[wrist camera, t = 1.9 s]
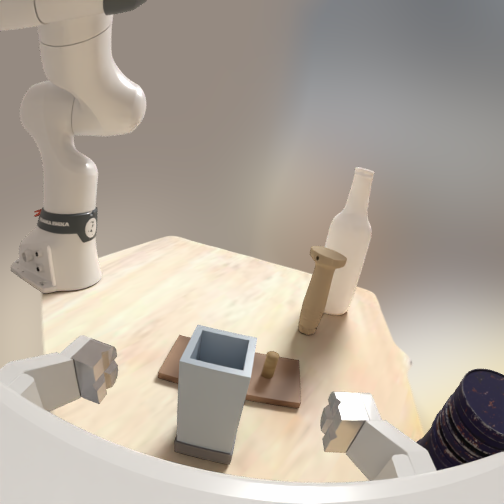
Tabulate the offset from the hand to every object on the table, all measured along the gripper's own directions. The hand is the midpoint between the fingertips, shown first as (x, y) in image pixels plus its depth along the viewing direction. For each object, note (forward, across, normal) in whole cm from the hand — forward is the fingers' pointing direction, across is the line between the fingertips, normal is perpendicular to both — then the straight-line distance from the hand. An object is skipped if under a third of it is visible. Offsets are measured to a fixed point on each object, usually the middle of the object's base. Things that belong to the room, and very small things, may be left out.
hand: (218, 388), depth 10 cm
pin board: (+24, 0, +18) cm, 30 cm away
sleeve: (+12, +1, +19) cm, 22 cm away
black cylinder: (+6, -23, +20) cm, 31 cm away
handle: (+39, -11, +17) cm, 44 cm away
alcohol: (+51, -18, +16) cm, 56 cm away
